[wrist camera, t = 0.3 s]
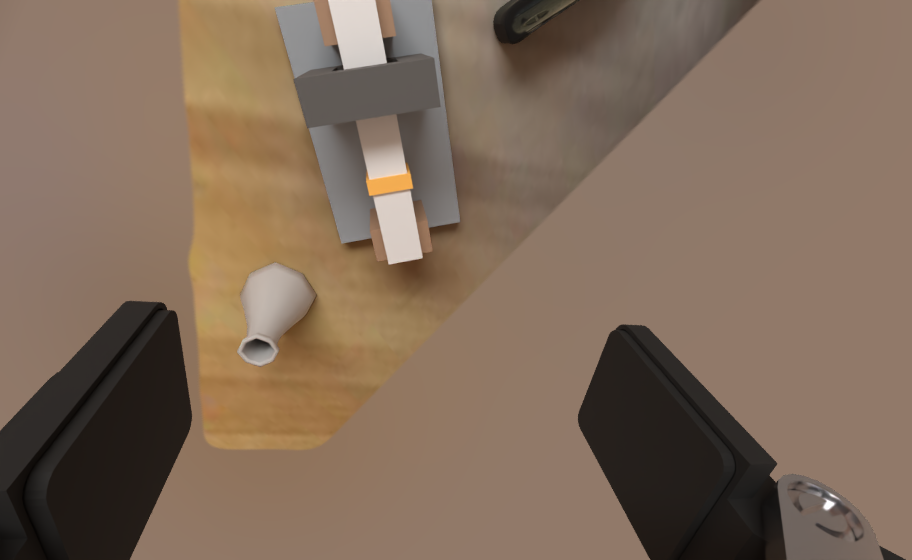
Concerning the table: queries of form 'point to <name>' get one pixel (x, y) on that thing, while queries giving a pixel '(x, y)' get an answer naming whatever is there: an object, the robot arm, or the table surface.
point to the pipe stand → (377, 126)
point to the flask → (272, 310)
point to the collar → (368, 90)
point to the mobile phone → (526, 17)
